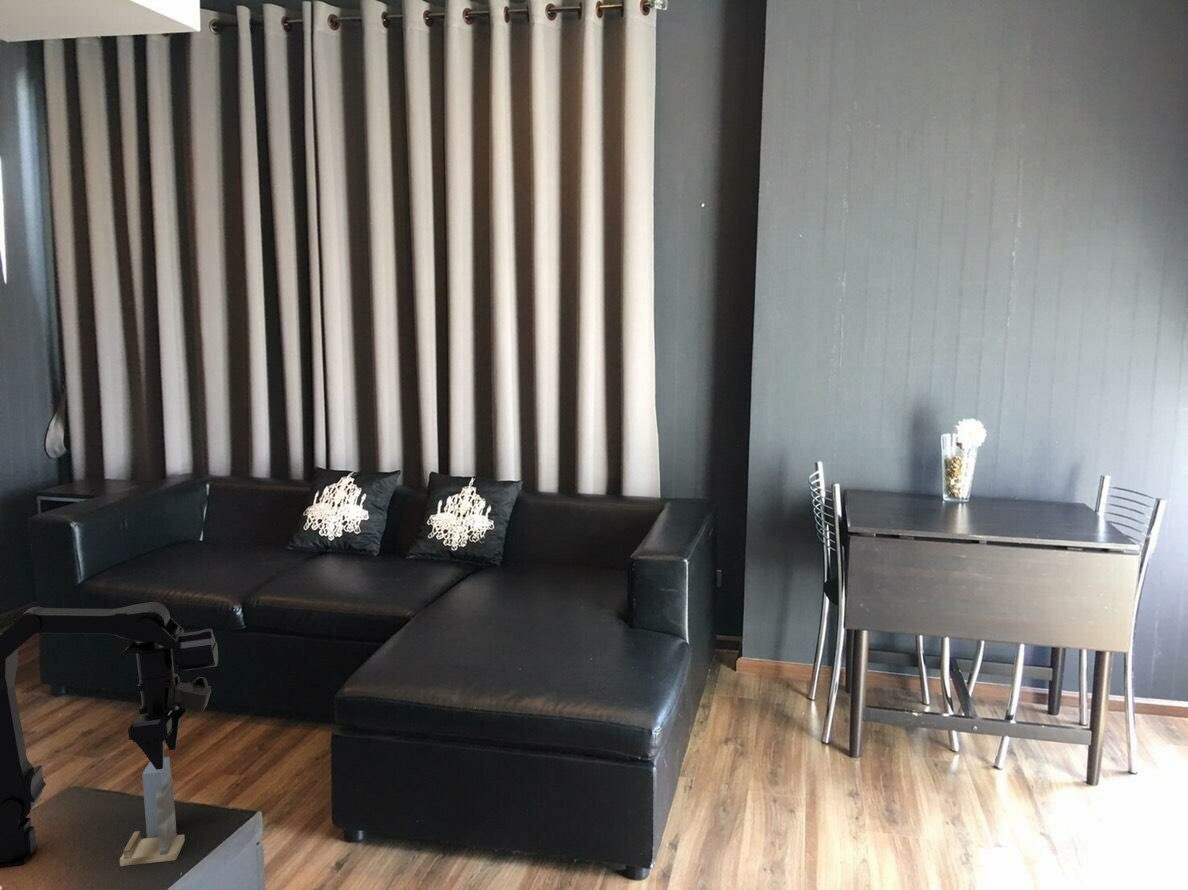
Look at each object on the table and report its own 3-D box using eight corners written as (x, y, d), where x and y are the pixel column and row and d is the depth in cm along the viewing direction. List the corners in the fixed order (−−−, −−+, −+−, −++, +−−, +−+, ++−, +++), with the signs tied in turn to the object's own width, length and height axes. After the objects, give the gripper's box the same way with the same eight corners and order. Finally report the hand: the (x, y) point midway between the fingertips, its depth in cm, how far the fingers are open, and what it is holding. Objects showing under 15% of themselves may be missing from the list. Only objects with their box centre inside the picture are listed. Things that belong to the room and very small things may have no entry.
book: (147, 842, 170) (142, 773, 168) (156, 824, 176) (152, 758, 175) (165, 840, 170) (160, 772, 169) (174, 822, 177) (169, 756, 175)
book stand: (120, 866, 162) (114, 798, 161) (131, 846, 169) (126, 781, 167) (175, 860, 164) (171, 793, 163) (184, 840, 170) (180, 776, 169)
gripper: (192, 684, 161) (202, 772, 162) (214, 654, 180) (223, 734, 181) (122, 693, 159) (133, 782, 160) (152, 662, 177) (161, 742, 179)
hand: (166, 759), depth 170 cm, fingers open, 9 cm apart
